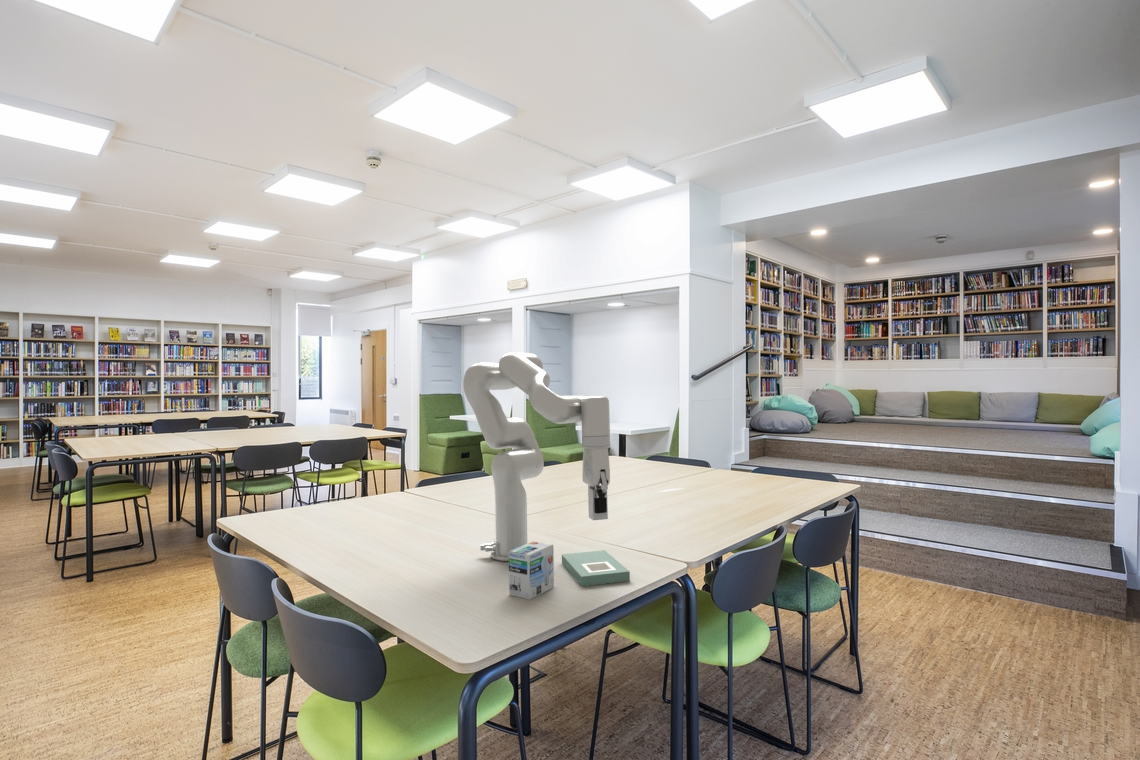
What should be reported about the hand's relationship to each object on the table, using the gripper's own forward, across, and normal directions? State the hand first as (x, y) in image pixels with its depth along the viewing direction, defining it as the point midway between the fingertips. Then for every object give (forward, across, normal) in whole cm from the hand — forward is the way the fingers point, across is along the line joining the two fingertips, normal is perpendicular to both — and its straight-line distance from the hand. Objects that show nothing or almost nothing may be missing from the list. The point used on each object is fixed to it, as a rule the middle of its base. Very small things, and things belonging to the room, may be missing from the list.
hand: (597, 510), depth 149 cm
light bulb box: (+18, +5, -19) cm, 27 cm away
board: (+17, -4, 0) cm, 18 cm away
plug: (+2, 0, 0) cm, 2 cm away
